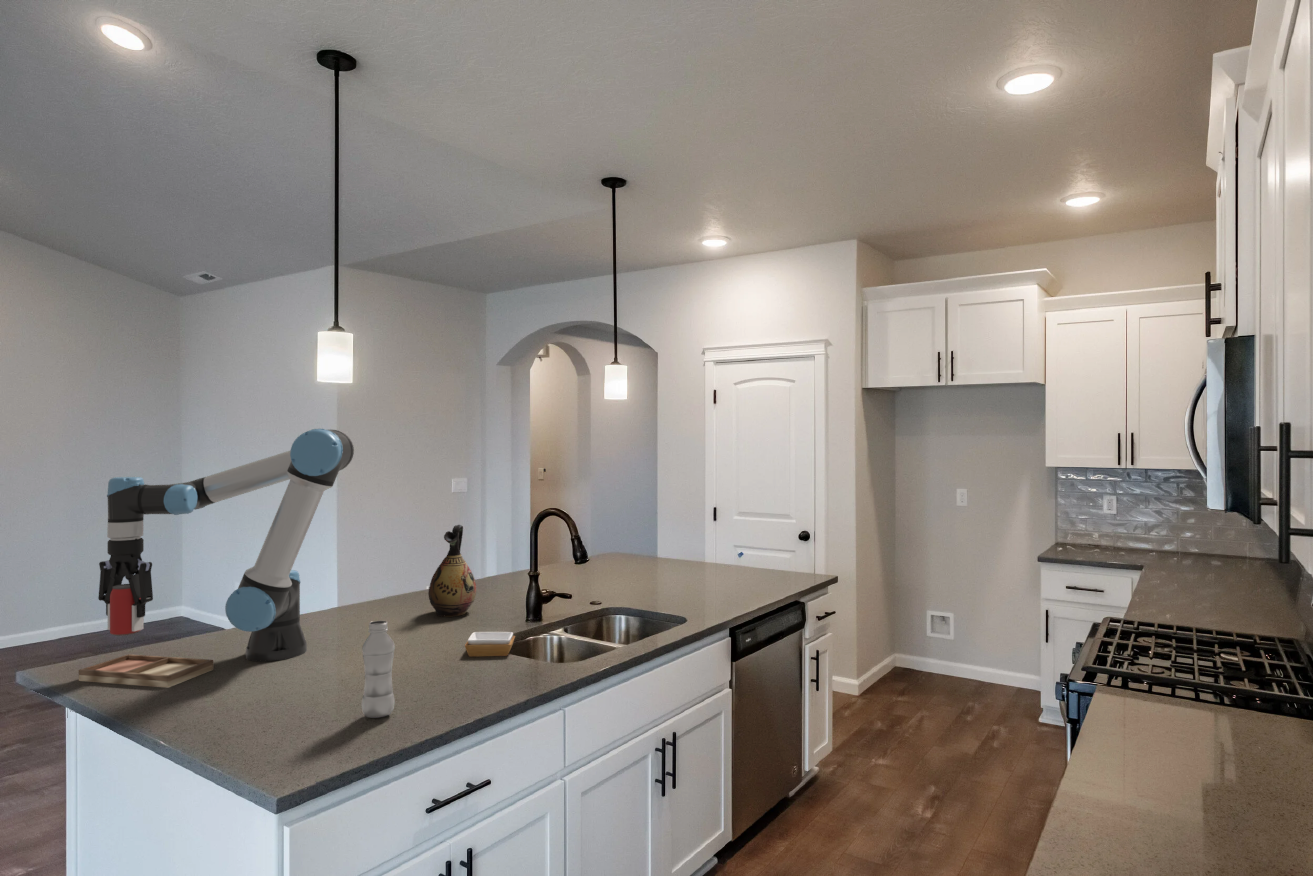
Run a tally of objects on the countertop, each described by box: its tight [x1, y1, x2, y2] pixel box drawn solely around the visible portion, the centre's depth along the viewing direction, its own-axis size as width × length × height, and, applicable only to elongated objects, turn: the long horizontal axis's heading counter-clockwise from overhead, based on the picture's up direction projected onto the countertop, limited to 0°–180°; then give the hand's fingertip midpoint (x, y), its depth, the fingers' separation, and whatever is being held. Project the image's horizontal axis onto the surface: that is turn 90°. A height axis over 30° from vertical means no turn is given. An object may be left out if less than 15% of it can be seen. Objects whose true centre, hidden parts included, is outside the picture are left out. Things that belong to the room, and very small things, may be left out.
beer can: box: [109, 583, 141, 637], centre depth 195 cm, size 7×7×12 cm
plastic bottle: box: [361, 620, 396, 719], centre depth 165 cm, size 6×7×20 cm
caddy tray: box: [78, 653, 214, 689], centre depth 194 cm, size 26×14×3 cm, turn 78°
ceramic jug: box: [427, 524, 477, 618], centre depth 259 cm, size 17×15×30 cm
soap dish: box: [464, 631, 516, 657], centre depth 213 cm, size 12×10×5 cm
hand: (125, 629), depth 195 cm, fingers closed on beer can, 7 cm apart
